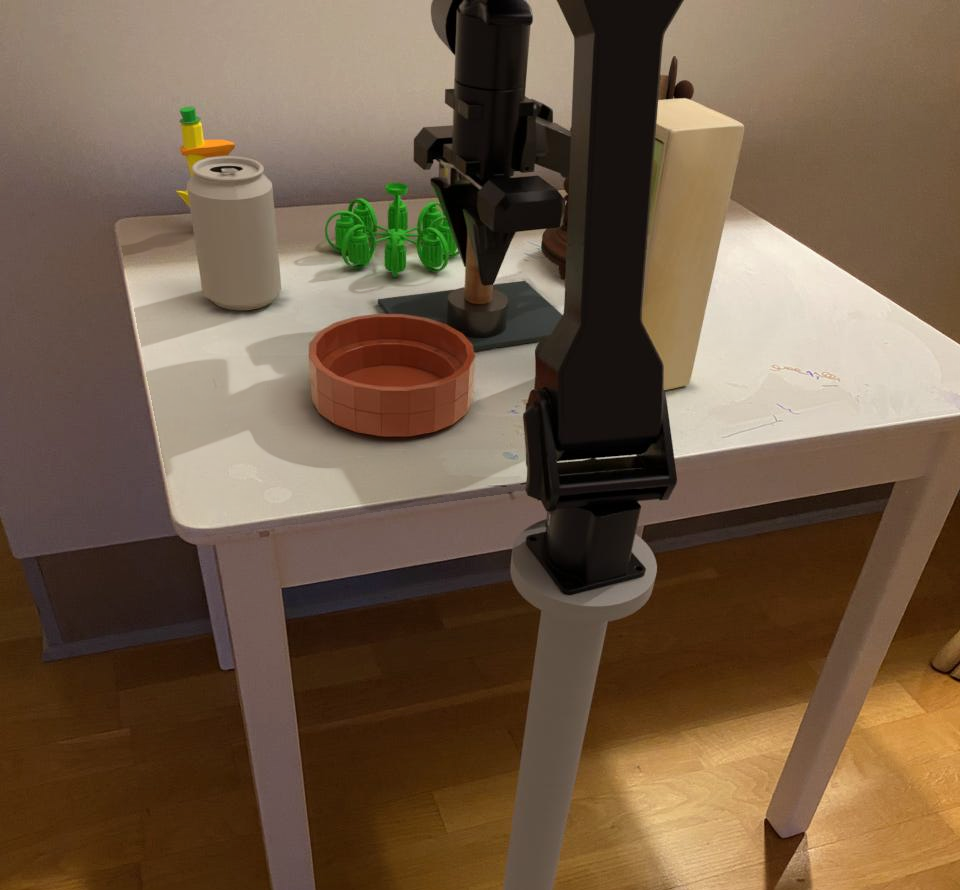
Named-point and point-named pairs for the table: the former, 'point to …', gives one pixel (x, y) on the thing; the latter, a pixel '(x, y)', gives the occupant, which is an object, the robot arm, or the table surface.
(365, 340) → the bowl
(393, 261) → the chandelier
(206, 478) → the table surface
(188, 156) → the toy figure
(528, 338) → the mat
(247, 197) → the can
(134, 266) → the table surface
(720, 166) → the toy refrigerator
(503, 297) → the coffee tamper
